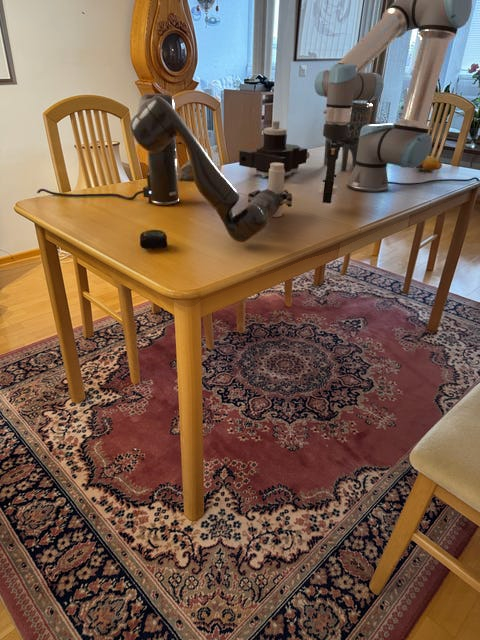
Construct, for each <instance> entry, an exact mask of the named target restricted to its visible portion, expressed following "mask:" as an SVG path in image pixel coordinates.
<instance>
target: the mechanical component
mask: <svg viewBox="0 0 480 640" xmlns="http://www.w3.org/2000/svg"><path fill="white" fill-rule="evenodd" d="M287 138H288V129H287V128H286V127H280V121H279V120H272V126H271V127H265V128H264V129H263V145H262V146H258V147H257V148H256V151H250V150H245V149H241V150H239V153H238V154H239V155H238V157H239V159H238V166H240V167H245V168H250V169H255V173H256V174H257V175H261V177H262V178H267V177H269V169H270V164H271V163H283V164H284V170H285V175H284V177H285V176H291V175H292V173H298V171H299V167H300V165H303V164H304V165H305V164H307V160H309V158H310V156H311V154H310V152H309V151H308V148H304V147H301V146H299V145H297V144H290V143H287Z"/></svg>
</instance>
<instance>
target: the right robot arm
mask: <svg viewBox="0 0 480 640" xmlns="http://www.w3.org/2000/svg"><path fill="white" fill-rule="evenodd" d="M472 8H473V0H395V1H394V2H393V3H392V4H391V5H389V6H388V7H387V9H385V11H384V12H383V13H382V16H381V19H380V20H379V21H378V22H377V23H376V24H375V25H374V26H373V27H372V28H371V29H370V30H369V31H368V32H367V33H366V34H365V35H364V36H363V37H362V38H361V39H360V40H359V41H358V42H357V43H356V44H355V45H354V46H353V47H352V48H351V49H350V50H349V51H348V52H347V53H346V54H345V55H344V56H343V57H342V58H341V59H340V60H339V61H338V62H337V63H334V64H333V65H331V66H330V69H326V70H322V71H319V72H318V73H317V74H316V77H315V79H314V90H315V93H316V94H317V96H320V97H324V98H326V106H325V109H324V110H323V111H322V113H323V114H324V124H323V130H322V136H323V137H324V138H325V137H327V138H331V142H330V143H328V145H327V150H328V151H327V159H328V163H327V165H326V173H325V178H324V179H322V183H324V184H325V185H324V184H323V185H324V193H323V194H322V201H321V203H322V204H331V203H332V198H333V194H332V191H333V185H334V183H335V178H337V174H336V164H337V161H338V159H339V154H340V151H341V147H340V145H341V143H339V142H338V140H339V138H347V137H348V131H349V125H348V123H349V122H350V118H351V111H352V102H355V101H356V102H357V101H358V102H361V101H362V102H363V101H364V102H365V101H366V102H369V101H374V100H377V99H378V98H379V97H380V96H381V95H382V93H383V91H384V85H385V82H384V79H383V77H382V75H381V74H379V73H377V72H364V71H365V70H366V69H367V68H368V67H369V66H370V65H371V64H372V63H373V62H374V61H375V60H376V58H378V57H379V55H381V53H382V52H384V50H385V49H387V48H388V47H389V45H391V43H393V42H394V40H396V39H398V38H401V37H403V36H404V35H405V34H406V33H407V32H409V31H412V30H417V29H418V31H417V34H418V36H419V37H420V42H419V46H418V49H417V50H418V51H417V55H416V59H415V62H414V65H413V70H412V74H411V78H410V81H409V85H408V89H407V94H406V96H405V101H404V105H403V108H402V111H401V116H400V119H399V120H397V121H396V122H395V123H394V124H393V123H379V124H378V123H377V124H376V123H375V124H369V125H365V126H363V127H362V128H361V132H360V136H359V142H358V150H357V158H356V165H355V166H354V167H353V171H351V174H350V176H349V179H348V182H347V187H348V188H349V189H351V190H354V191H358V192H363V193H364V192H365V193H382V192H386V191H388V189H389V185H399V186H416V185H423V184H425V185H426V184H428V183H436V182H470V181H473V180H476V181H477V182H480V179H479V178H478V177H477V176H473V177H471V178H466V179H464V178H463V179H461V178H460V179H459V178H443V179H430V180H424V181H419V182H397V181H389V178H388V173H387V172H388V171H387V166H388V164H389V165H392V166H393V165H394V166H396V167H397V166H398V167H401V168H409V169H414V168H416V167H417V166H419V165H421V164H422V162H424V161H425V159H426V158H427V157H429V154H430V152H431V149H432V145H433V139H432V136H431V135H430V134H429V130H430V127H429V125H428V123H427V121H428V119H429V114H430V110H431V107H432V104H433V101H434V97H435V93H436V89H437V86H438V82H439V79H440V75H441V72H442V68H443V64H444V62H445V58H446V54H447V50H448V47H449V44H450V42H451V41H452V40H453V39H454V38H456V36H457V33H458V30H459V29H461V28H463V27H464V26H466V24H467V22H468V21H469V19H470V16H471V13H472ZM326 122H327V123H326Z"/></svg>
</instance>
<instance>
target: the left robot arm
mask: <svg viewBox="0 0 480 640" xmlns="http://www.w3.org/2000/svg"><path fill="white" fill-rule="evenodd" d="M175 105H176V104H175V101H174V97H173V95H172V94H170V93H145V94H142V95H141V96H140V97H139V103H138V110H137V113H136V114H135V115H134V116H133V118H131V120H130V122H129V130H130V133H131V135H132V137H133V139H134V140H135V141H136V143H137V144H138V145H139V146H140V147H141V148H142V149H144V150H145V151H146V153H147V165H148V173H146V183H147V184H146V185H145V186H143V187H142V190H139V191H137V192H135V193H134V194H133V196H129V197H127V196H124V195H122V194H119V193H62V192H57V191H56V192H55V191H50V190H48V189H45V188H40V189H38V190H37V191H36V194H40V193H41V192H45V193H47V194H51V195H54V196H61V197H70V198H71V197H72V198H73V197H81V198H82V197H86V198H87V197H119V198H121V199H123V200H128V201H131V200H135V198H137V196H138V195H141V194H143V198H146V199H147V198H148V203H149V204H152V205H155V206H162V207H163V206H167V207H168V206H173V205H174V206H175V205H177V204H178V203H179V202H180V199H179V183H178V181H179V179H178V161H177V144H176V143H177V142H176V137H178V138H179V139H180V141H181V142H182V143H183V145H184V148H185V149H186V152H187V155H188V160H190V163H191V168H192V173H193V177H194V180H193V181H194V184H195V186H196V188H197V190H198V192H199V193H200V195H201V196H202V197H203V198H204V199H205V200H206V201H207V203H208V204H209V205H210V206H211V207H212V208H213V209H214V210H215V211H216V213H217V214H218V216H219V218H220V220H221V222H222V223H223V225H224V227H225V230H226V232H227V234H228V235H229V237H230V238H231V239H232V240H233V241H235V242H237V243H245V242H247V241H249V239H251V238H253V237H254V236H256V235H257V234H258V233H260V232H261V231H262V230H264V229H265V228H266V227H267V226H268V224H269V220H271V219H272V218H273V217H272V216H273V215H274V214H275V213H276V212H277V210H278V209H279V206H282V207H283V205H286V206H287V207H288V208H291V207H292V205H293V193H291V192H289V191H288V190H287V189H283V192H282V193H280V192H278V193H274V192H273V191H270V190H268V188H266V189H263V190H260V189H257V190H254V191H252V192H249V193H248V194H247V195H248V196H247V202H248V203H247V204H246V206H245V207H244V208H242V209H241V210H240V211H238V212H237V213H236V214H234V212H233V210H232V209H233V208H234V207H235V206H236V204H237V203H238V202H239V199H240V194H239V192H238V191H237V190H236V189H235V187H234V186H233V185H232V184H231V183H230V181H229V180H228V179H227V178H226V177H225V175H223V174H222V172H221V171H220V170H219V169H218V167H217V166H216V165H215V163H214V162H213V160H212V159H211V158H210V156H209V155H208V153H207V151H206V150H205V149H204V147H203V146H202V144H201V143H200V142H199V140H198V139H197V137H196V136H195V135H194V133H193V132H192V130H191V129H190V128H189V127H188V126H189V125H187V124H186V122H185V120H183V118H182V117H181V115H179V113H178V112H177V111H176V106H175Z"/></svg>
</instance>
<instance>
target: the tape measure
mask: <svg viewBox="0 0 480 640" xmlns="http://www.w3.org/2000/svg"><path fill="white" fill-rule="evenodd" d="M167 236H168V235H167V234H166V232H165V231H164V230H161V229H147V230H144V231H143V232H141V233H140V235H139V240H140V241H139V245H140V246H139V247H141V248H142V249H146V250H157V249H167V248H168V240H167V239H168V237H167Z"/></svg>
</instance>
